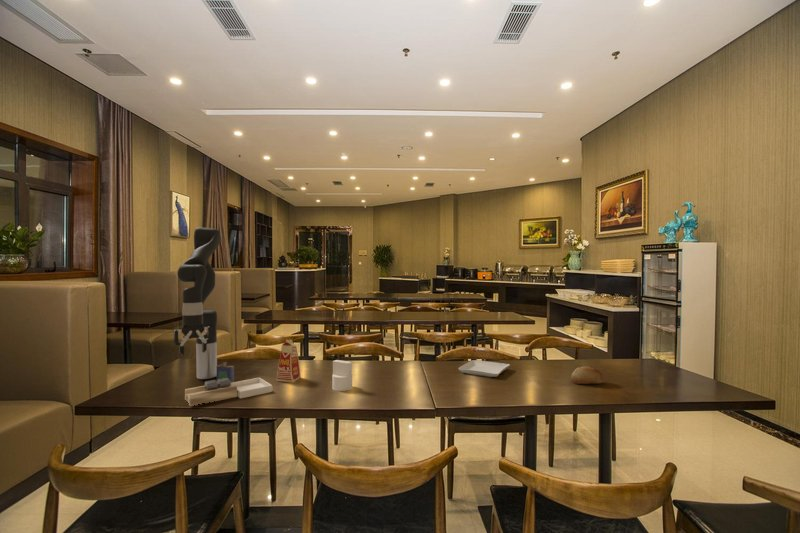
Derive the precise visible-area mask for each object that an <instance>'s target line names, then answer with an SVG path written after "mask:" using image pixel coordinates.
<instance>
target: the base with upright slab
mask: <svg viewBox="0 0 800 533" xmlns="http://www.w3.org/2000/svg"><path fill="white" fill-rule="evenodd" d="M352 372H353V362H352V361H348V360H347V361H346V360H342V359H341V360H340V359H335V360H332V383H331V384H332V388H331V389H332V390H333V391H336V392H345V391H346V390H347V391H349V390H352V389H353V373H352Z"/></svg>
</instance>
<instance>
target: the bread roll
mask: <svg viewBox="0 0 800 533" xmlns="http://www.w3.org/2000/svg"><path fill="white" fill-rule="evenodd" d="M604 380H605V377H604V375H603V373H602V372H601V370H599V369H597V368H596V367H593V366H586V365H585V366H583V365H582V366H579V367H576V368H575V369H574V371H573V372H572V373H571V375H570V381H571V382H572V383H573V384H575V385H576V384H577V385H583V384H584V385H586V384H602V383H604Z"/></svg>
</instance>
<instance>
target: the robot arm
mask: <svg viewBox="0 0 800 533" xmlns="http://www.w3.org/2000/svg"><path fill="white" fill-rule="evenodd" d="M221 239H222V238H221V231H220V230H219V229H218V228H212V227H200V226H199V227H196V228H195V229H194V233H193V246H194V250H193V252H192V253H191V254H190V257H189V258H188V259H187V260H185V261H184V262H183V263H182V264H181V265H179V267H178V270H177V274H176V275H177V278H178V280H179V281H181V282H183V283H193V286H191V287H186V288H184V289H183V290H182V309H181V311H182V312H181V313H182V326H181V329H174V330H173V344H174V346H178V348H179V349H178V352H179V354H180V355H181V356H185V346H184V345H185V344H186V342H187V341H188V340H191V339H196V340H195V341H196V343H195V348H196V349H195V350H196V353H195V354H196V355H195V356H196V363H195V364H196V379H198V380H207V379H212V378H215V377H216V376H217V367H216V366H217V365H218V355H217V354H218V352H217V351H218V346H217V345H218V340H217V327H218V314H217V311H216V310H215V309H210V310H209V309H208V310H207V309H206V310H204V306H203V305H204V303H205V302H206V300H207V299H208V298H209V296H210V295H211V293H212V292H213V290H214V289H215V288H216V287H215V286H216V272H215V269H214V268H213V267H212V265H211V264H210V262H209V259H210V257H211V256H213V254H214V253H215V251H216V250H217V248H219V246H220V243H221ZM204 331H205V333H204V334H203V332H204ZM181 333H182V334H183V336H182V337H181V339H180V341H179V336H180V335H181Z"/></svg>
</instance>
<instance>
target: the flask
mask: <svg viewBox="0 0 800 533" xmlns="http://www.w3.org/2000/svg"><path fill="white" fill-rule="evenodd" d="M227 363H228V362H227V361H226V362H225V361H223V362H222V363H220V364H217V366H216V367H217V376H216V379H215V380H216V381H217V379H223V378H228V379H230V382H231V383H232V382H235V366H234V365H227Z"/></svg>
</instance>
